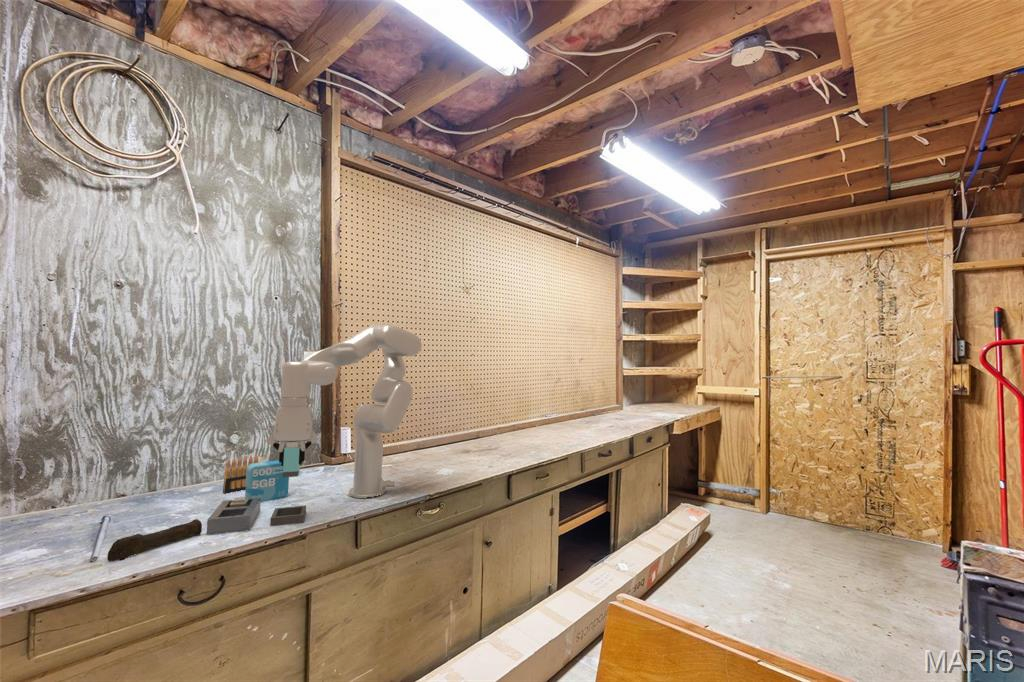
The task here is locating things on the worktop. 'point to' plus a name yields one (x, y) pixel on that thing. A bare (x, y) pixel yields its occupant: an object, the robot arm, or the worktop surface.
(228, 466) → the ammunition clip
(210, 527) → the port
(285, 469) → the plug
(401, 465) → the worktop surface
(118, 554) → the hand tool
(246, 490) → the data package
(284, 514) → the dark square frame
